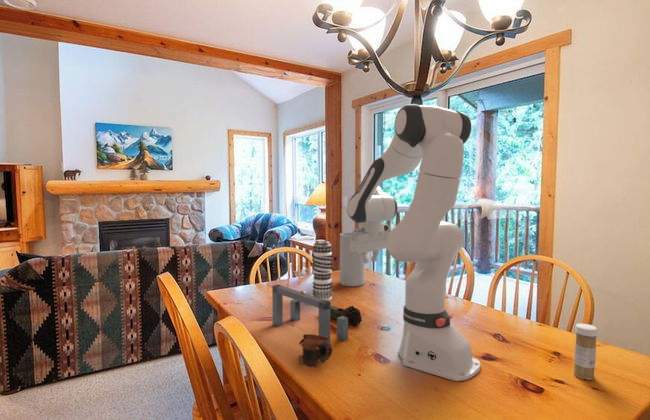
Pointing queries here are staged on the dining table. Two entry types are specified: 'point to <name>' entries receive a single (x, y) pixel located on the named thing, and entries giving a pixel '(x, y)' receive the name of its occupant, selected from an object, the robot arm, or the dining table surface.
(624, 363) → the dining table surface
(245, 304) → the dining table surface
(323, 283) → the decorative candle
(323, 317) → the grey arch frame
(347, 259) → the cylinder vase
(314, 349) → the pottery mug
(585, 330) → the sprinkles bottle
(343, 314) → the dark elongated lumpy piece
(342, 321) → the guide posts
